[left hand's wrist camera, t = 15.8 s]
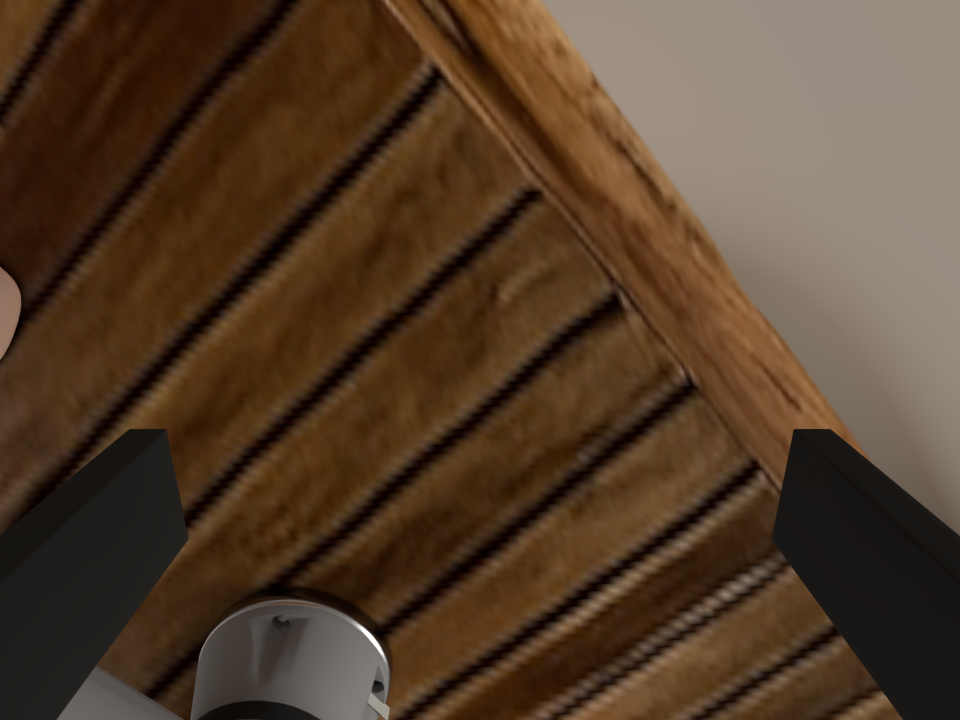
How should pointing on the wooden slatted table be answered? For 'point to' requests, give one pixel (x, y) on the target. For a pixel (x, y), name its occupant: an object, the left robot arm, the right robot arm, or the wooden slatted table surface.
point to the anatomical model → (8, 309)
